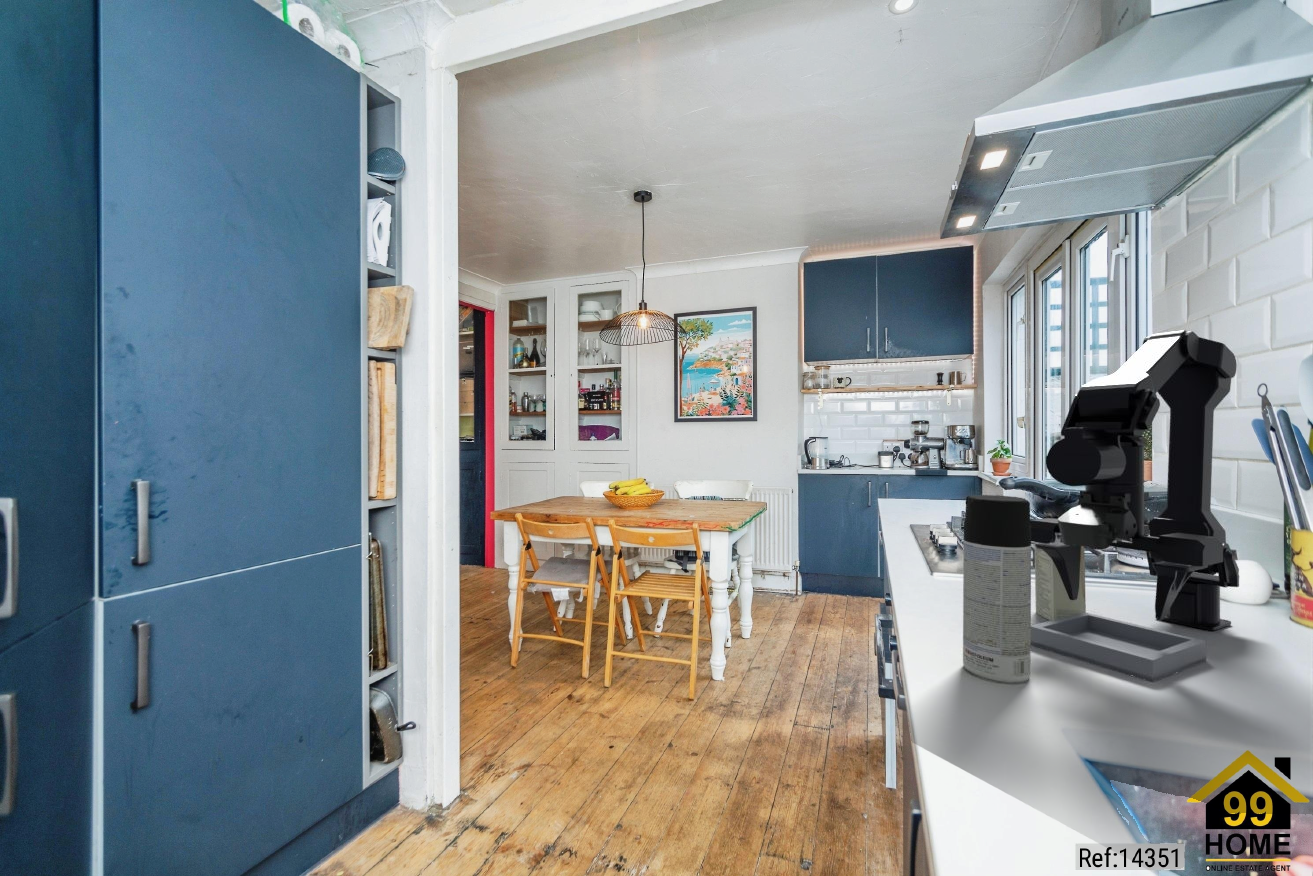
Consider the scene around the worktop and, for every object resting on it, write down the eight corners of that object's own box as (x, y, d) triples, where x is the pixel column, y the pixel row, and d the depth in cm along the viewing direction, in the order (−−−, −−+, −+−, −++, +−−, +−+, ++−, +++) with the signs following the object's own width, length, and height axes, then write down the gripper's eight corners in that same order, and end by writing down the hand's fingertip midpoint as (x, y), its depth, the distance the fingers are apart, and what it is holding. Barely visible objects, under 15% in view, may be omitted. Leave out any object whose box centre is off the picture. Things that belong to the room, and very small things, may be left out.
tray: (1084, 630, 80) (1084, 612, 80) (1206, 662, 69) (1206, 641, 69) (1029, 645, 74) (1029, 626, 74) (1152, 683, 63) (1152, 660, 63)
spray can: (1022, 666, 67) (1021, 495, 68) (1039, 689, 61) (1039, 501, 61) (958, 659, 70) (958, 493, 70) (968, 681, 63) (968, 499, 63)
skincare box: (1087, 626, 82) (1087, 540, 82) (1053, 624, 83) (1053, 539, 83) (1065, 613, 88) (1065, 533, 88) (1033, 611, 89) (1033, 532, 89)
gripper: (999, 480, 76) (1000, 598, 76) (1178, 492, 60) (1178, 643, 60) (1048, 478, 81) (1048, 588, 81) (1225, 487, 65) (1225, 626, 65)
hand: (1114, 608), depth 72 cm, fingers open, 9 cm apart
